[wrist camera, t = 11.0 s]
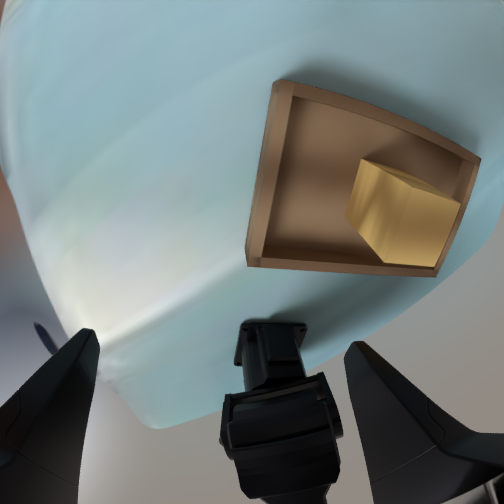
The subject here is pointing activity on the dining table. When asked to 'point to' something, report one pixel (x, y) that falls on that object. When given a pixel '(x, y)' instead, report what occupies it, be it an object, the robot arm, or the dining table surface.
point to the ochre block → (400, 215)
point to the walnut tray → (339, 180)
